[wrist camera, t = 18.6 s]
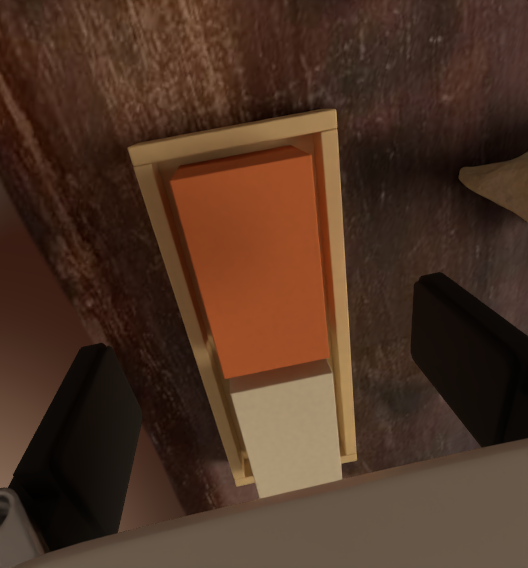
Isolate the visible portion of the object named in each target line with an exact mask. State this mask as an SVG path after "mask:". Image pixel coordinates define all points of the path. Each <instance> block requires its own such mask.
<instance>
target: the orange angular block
mask: <svg viewBox="0 0 528 568" xmlns="http://www.w3.org/2000/svg"><path fill="white" fill-rule="evenodd" d="M170 185H171V189H172V193H173V196H174V200H175V203H176V207H177V211H178V214H179V218H180V221H181V225H182V229H183V232H184V236H185V239H186V243H187V247H188V250H189V254H190V257H191V261H192V265H193V268H194V272H195V275H196V279H197V283H198V286H199V290H200V293H201V297H202V301H203V304H204V308H205V311H206V315H207V319H208V322H209V326H210V329H211V333H212V337H213V340H214V344H215V347H216V351H217V355H218V358H219V362H220V365H221V369H222V373H223V376H224V379H228V378H233V377H238V376H242V375H247V374H252V373H257V372H262V371H267V370H272V369H277V368H281V367H286V366H291V365H296V364H301V363H306V362H311V361H316V360H320V359H325V358H329V346H328V335H327V324H326V312H325V301H324V290H323V279H322V267H321V256H320V245H319V234H318V222H317V211H316V200H315V189H314V178H313V166H312V156H311V155H310V154H308V153H306V152H304V151H302V150H300V149H298V148H296V147H294V146H292V145H289V146H283V147H278V148H272V149H267V150H261V151H256V152H250V153H245V154H240V155H234V156H229V157H223V158H218V159H212V160H207V161H201V162H196V163H190V164H185V165H180V166H179V168H178V169H177V171H176V172H175V174H174V175H173V177H172V178H171V180H170Z"/></svg>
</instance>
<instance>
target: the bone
mask: <svg viewBox="0 0 528 568" xmlns="http://www.w3.org/2000/svg"><path fill="white" fill-rule="evenodd" d="M459 180H460V181H461V182H462V183H463V184H464V185H465V186H466V187H467V188H469V189H470V190H472V191H474V192H475V193H477V194H479V195H481V196H483V197H485V198H487V199H490V200H492V201H493V202H495V203H497V204H498V205H500V206H502V207H504V208H506V209H508V210H510V211H512V212H514V213H515V214H517V215H518V216H520V217H521V218H522V219H524V220H525V221H527V222H528V151H527V152H526V153H524V154H523V155H521V156H520V157H517V158H515V159H512V160H509V161H504V162H499V163H492V164H488V165H481V166H475V167H463V168H461V169H460V172H459Z"/></svg>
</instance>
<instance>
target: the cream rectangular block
mask: <svg viewBox="0 0 528 568" xmlns="http://www.w3.org/2000/svg"><path fill="white" fill-rule="evenodd" d="M230 395H231V398H232V402H233V406H234V409H235V413H236V416H237V420H238V423H239V427H240V431H241V434H242V438H243V441H244V445H245V448H246V452H247V455H248V459H249V463H250V466H251V470H252V473H253V477H254V480H255V484H256V487H257V491H258V495H259V498H265V497H269V496H273V495H278V494H282V493H286V492H290V491H295V490H299V489H303V488H307V487H312V486H316V485H320V484H325V483H329V482H333V481H338V480H342V470H341V459H340V449H339V438H338V427H337V416H336V405H335V394H334V383H333V373H332V370H331V368H330V366H329V364H328V361H327V359H326V358H325V359H320V360H316V361H311V362H306V363H301V364H296V365H291V366H286V367H281V368H277V369H272V370H267V371H262V372H257V373H252V374H247V375H242V376H238V377H233V378H230Z"/></svg>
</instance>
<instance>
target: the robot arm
mask: <svg viewBox="0 0 528 568" xmlns="http://www.w3.org/2000/svg"><path fill="white" fill-rule="evenodd" d="M411 355H412V358H413V360H414V361H415V363H416V364H417V365H418V367H419V368H420V369H421V370H422V372H423V373H424V374H425V376H426V377H427V378H428V379H429V381H430V382H431V383H432V384H433V386H434V387H435V388H436V390H437V391H438V392H439V393H440V395H441V396H442V397H443V399H444V400H445V401H446V402H447V404H448V405H449V406H450V407H451V409H452V410H453V411H454V413H455V414H456V415H457V416H458V418H459V419H460V420H461V422H462V423H463V424H464V425H465V427H466V428H467V429H468V430H469V432H470V433H471V434H472V436H473V437H474V438H475V439H476V441H477V442H478V443H479V445H480V446H481V447H482V448H478V449H474V450H469V451H465V452H460V453H456V454H451V455H447V456H443V457H438V458H434V459H429V460H425V461H421V462H416V463H412V464H407V465H403V466H399V467H394V468H390V469H385V470H381V471H376V472H372V473H368V474H364V475H359V476H355V477H351V478H346V479H342V480H338V481H333V482H329V483H325V484H320V485H316V486H312V487H307V488H303V489H299V490H295V491H290V492H286V493H282V494H278V495H273V496H269V497H265V498H260V499H256V500H252V501H248V502H243V503H239V504H235V505H231V506H227V507H223V508H218V509H214V510H210V511H206V512H202V513H197V514H193V515H189V516H185V517H181V518H177V519H172V520H168V521H164V522H160V523H155V524H151V525H147V526H144V527H140V528H136V529H132V530H128V531H124V532H120V533H118V529H119V525H120V520H121V515H122V511H123V506H124V501H125V497H126V492H127V488H128V483H129V479H130V474H131V470H132V465H133V460H134V456H135V451H136V446H137V442H138V437H139V432H140V428H141V424H142V411H141V408H140V406H139V404H138V402H137V399H136V397H135V395H134V393H133V391H132V389H131V387H130V384H129V382H128V380H127V378H126V376H125V374H124V372H123V370H122V367H121V365H120V363H119V361H118V359H117V357H116V355H115V353H114V350H113V349H112V347H110V346H108V347H106V345H104V344H103V343H99V344H94V345H90V346H85V347H82V348H81V349H80V350H79V352H78V354H77V356H76V358H75V360H74V361H73V363H72V365H71V367H70V369H69V371H68V372H67V375H66V376H65V378H64V380H63V382H62V384H61V386H60V387H59V389H58V391H57V393H56V395H55V397H54V399H53V401H52V403H51V404H50V406H49V408H48V410H47V412H46V414H45V416H44V417H43V419H42V421H41V423H40V425H39V427H38V429H37V431H36V432H35V434H34V436H33V438H32V440H31V442H30V444H29V446H28V448H27V449H26V451H25V453H24V455H23V457H22V459H21V461H20V463H19V464H18V466H17V468H16V470H15V472H14V474H13V476H14V477H13V479H12V481H11V483H10V485H9V487H8V488H0V568H528V336H527V335H526V334H524V333H523V332H522V331H520V330H519V329H517V328H516V327H515V326H513V325H512V324H511V323H509V322H508V321H507V320H505V319H504V318H503V317H501V316H500V315H499V314H497V313H496V312H494V311H493V310H492V309H490V308H489V307H488V306H486V305H485V304H484V303H482V302H481V301H480V300H478V299H477V298H476V297H474V296H473V295H471V294H470V293H469V292H467V291H466V290H465V289H463V288H462V287H461V286H459V285H458V284H457V283H455V282H454V281H453V280H451V279H450V278H449V277H447V276H446V275H444V274H443V273H441V272H438V273H434V274H429V275H424V276H421V277H420V278H419V281H418V282H416V283H415V284H414V295H413V313H412V332H411Z"/></svg>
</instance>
